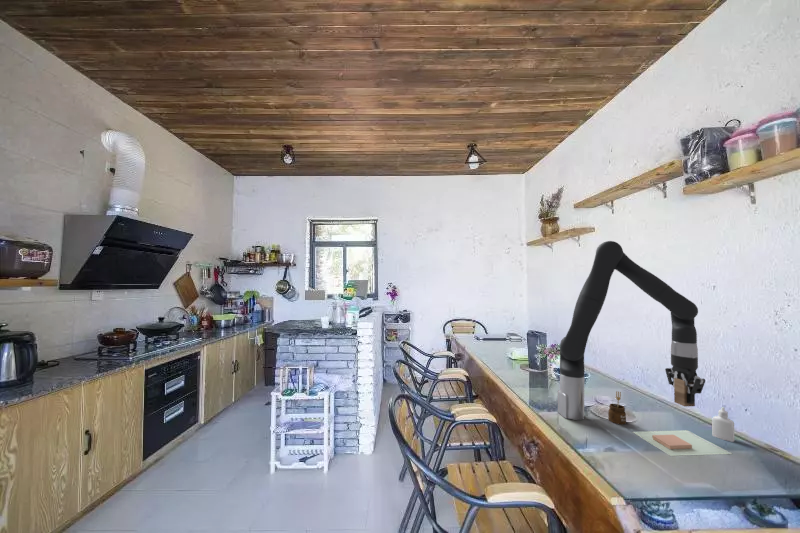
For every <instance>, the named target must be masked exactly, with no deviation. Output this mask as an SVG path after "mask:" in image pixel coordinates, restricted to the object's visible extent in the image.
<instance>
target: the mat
mask: <svg viewBox="0 0 800 533" xmlns="http://www.w3.org/2000/svg"><path fill="white" fill-rule="evenodd" d="M632 433H633V434H634V435H636V436H638V437H640V438H641V439H642V440H644V441H645V442H647V443H649V444H650V445H651V446H654V447H655V448H657V449H658V450H660V451H661V452H663V453H665V455H668V456H669V457H683V456H685V457H686V456H712V455H713V456H714V455H715V456H716V455H718V456H719V455H733V453H732V452H730V451H728V450H726V449H724V448H722V447H720V446H719V445H716V444H714V443H713V442H711V441H708V440H707V439H705V438H703V437H700V436H699V435H696V434H695V433H694V432H692V431H689V430H688V429H687V430H685V429H684V430H655V431H654V430H651V431H650V430H649V431H632ZM652 435H675V436H677V437H679V438H680V439H682V440H684V441H686V442H688V443H689V444H691V445H692V449H669V448H667V447H665V446H664V445H662V444H660V443H659V442H657V441H655V440H654V439H653V438H652Z"/></svg>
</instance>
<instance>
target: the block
mask: <svg viewBox="0 0 800 533" xmlns="http://www.w3.org/2000/svg"><path fill="white" fill-rule="evenodd" d="M692 383H693V382H692ZM692 383H688V384H692ZM690 389H691V387H690ZM673 392H674V394H673V395H674V400H673V402H674V403H676V404H678V405H680V406H682V407H695V406H696V401H695V402H694V403H693V404H688V403H687V390H686V386H685V381H683V380H681V379H677V378H674V387H673Z"/></svg>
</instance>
